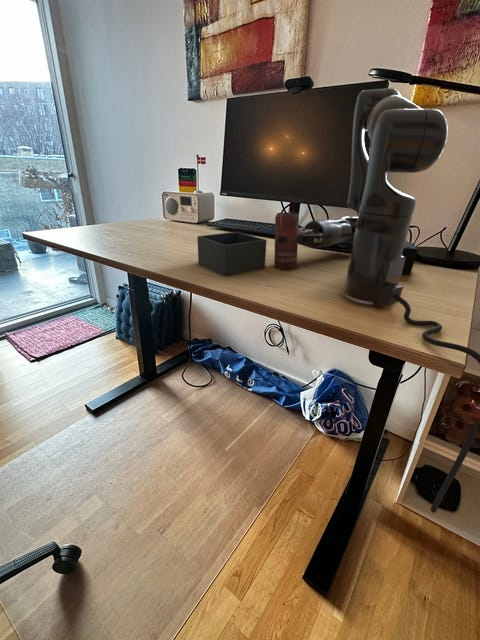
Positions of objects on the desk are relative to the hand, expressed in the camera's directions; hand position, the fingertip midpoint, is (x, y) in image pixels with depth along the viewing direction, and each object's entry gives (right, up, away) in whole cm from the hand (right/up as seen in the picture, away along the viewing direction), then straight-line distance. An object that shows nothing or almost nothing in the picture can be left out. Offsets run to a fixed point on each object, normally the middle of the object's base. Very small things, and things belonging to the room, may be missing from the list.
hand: (280, 239), depth 78 cm
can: (+2, -6, +5) cm, 8 cm away
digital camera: (+34, -7, +6) cm, 36 cm away
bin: (-13, -6, +5) cm, 15 cm away
